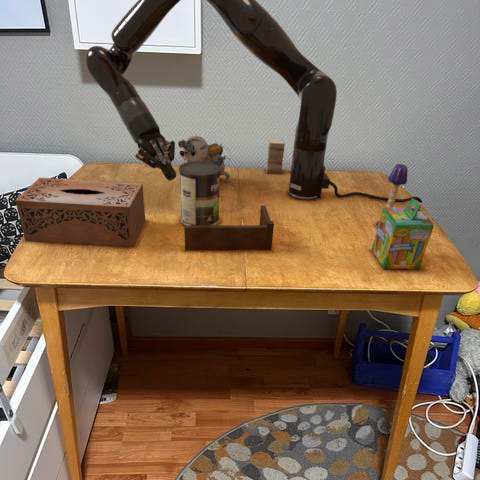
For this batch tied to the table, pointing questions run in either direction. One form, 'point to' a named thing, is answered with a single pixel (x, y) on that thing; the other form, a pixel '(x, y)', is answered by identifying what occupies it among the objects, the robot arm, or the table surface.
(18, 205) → the tissue box cover
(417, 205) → the chalk box
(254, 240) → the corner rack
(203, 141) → the robotic toy
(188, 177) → the coffee can
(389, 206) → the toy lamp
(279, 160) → the brown banded block
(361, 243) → the table surface
